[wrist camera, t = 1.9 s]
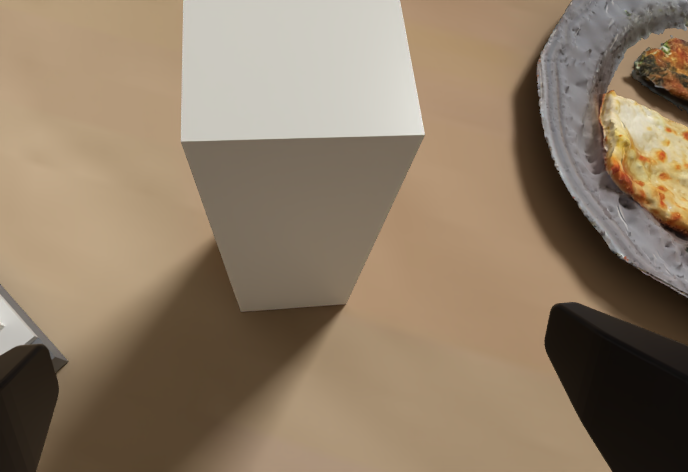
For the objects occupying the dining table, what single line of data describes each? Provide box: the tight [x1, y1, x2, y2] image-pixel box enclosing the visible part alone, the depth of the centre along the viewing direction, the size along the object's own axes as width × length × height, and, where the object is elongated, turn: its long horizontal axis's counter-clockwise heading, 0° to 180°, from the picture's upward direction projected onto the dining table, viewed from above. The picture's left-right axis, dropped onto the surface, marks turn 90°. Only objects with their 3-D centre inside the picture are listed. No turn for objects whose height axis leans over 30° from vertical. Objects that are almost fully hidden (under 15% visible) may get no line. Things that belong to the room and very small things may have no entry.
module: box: [181, 0, 425, 312], centre depth 16 cm, size 5×4×13 cm
